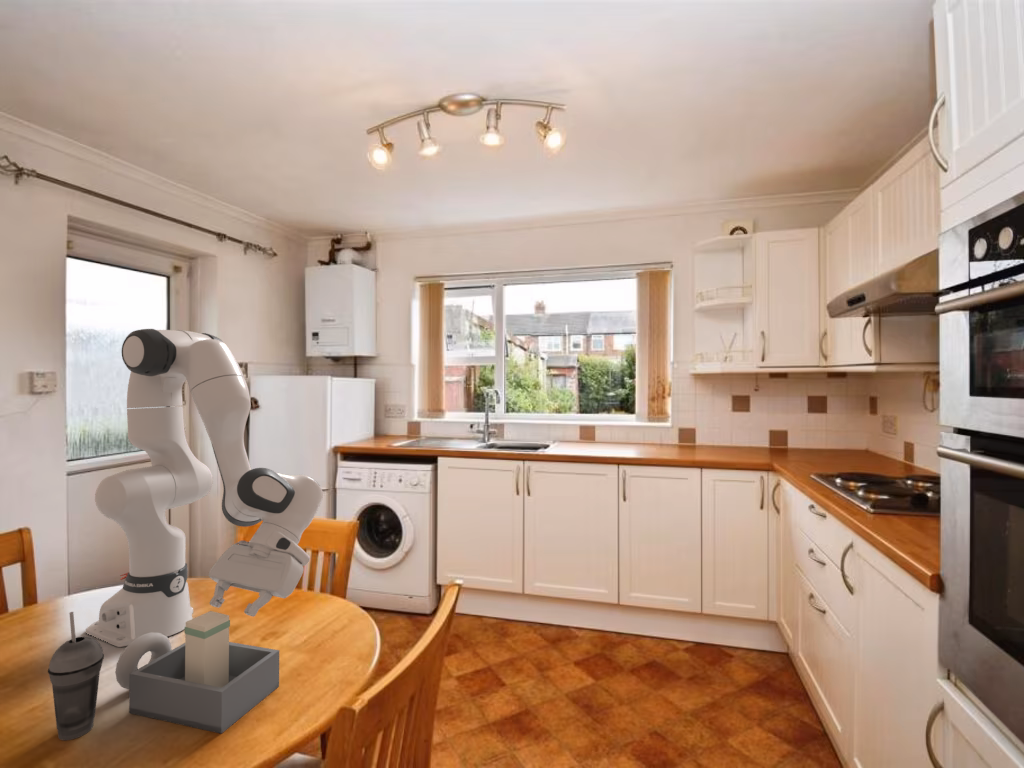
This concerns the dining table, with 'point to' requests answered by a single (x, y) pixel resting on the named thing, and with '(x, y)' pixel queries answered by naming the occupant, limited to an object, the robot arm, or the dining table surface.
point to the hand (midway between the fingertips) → (231, 610)
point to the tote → (203, 688)
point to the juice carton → (207, 649)
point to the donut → (140, 655)
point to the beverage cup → (75, 684)
